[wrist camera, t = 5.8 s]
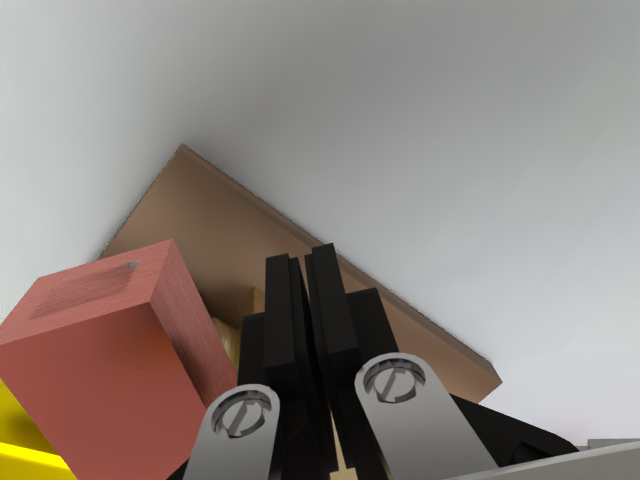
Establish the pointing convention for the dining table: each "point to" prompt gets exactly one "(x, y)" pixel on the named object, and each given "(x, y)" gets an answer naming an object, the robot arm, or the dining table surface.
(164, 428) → the valve lever
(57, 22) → the dining table surface
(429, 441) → the robot arm
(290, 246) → the valve board
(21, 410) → the element tile
